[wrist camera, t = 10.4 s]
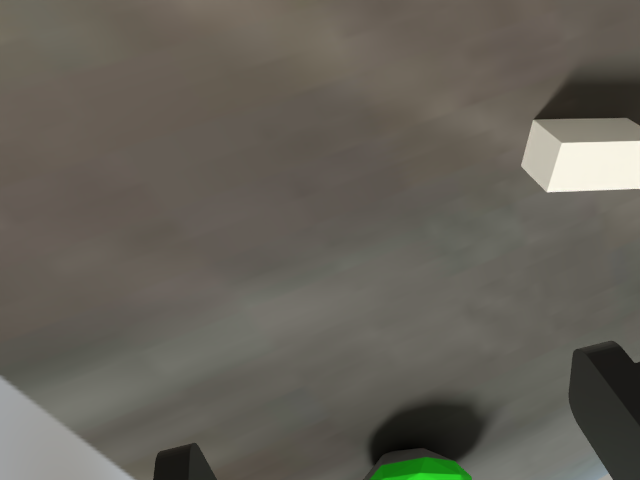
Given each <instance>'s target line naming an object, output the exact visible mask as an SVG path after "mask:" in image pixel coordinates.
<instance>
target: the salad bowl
mask: <svg viewBox="0 0 640 480" xmlns="http://www.w3.org/2000/svg"><path fill="white" fill-rule="evenodd" d="M363 480H472V478H471V476H470V475H469V474H468V473H467V472H466V471H465V470H464V469H463V468H461V467H460V466H459V465H458V464H457V463H456V462H455V461H453V460H451V459H448V458H446V457H444V456H441V455H439V454H436V453H434V452H431V451H429V450H427V449H424V448H418V449H409V450H400V451H392V452H389V453H386V454H383V456H382V457H381V458H380V459H379V461H378V462H377V463H376V464H375V466H374V467H373V468H372V469H371V471H370V472H369V473H368V474H367V476H366V477H365V478H364V479H363Z"/></svg>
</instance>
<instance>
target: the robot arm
mask: <svg viewBox="0 0 640 480" xmlns="http://www.w3.org/2000/svg"><path fill="white" fill-rule="evenodd" d="M569 403H570V407H571V410H572V413H573V415H574V418H575V420H576V422H577V424H578V425H579V427H580V428H581V430H582V432H583V433H584V435H585V436H586V438H587V439H588V441H589V443H590V444H591V446H592V447H593V449H594V450H595V452H596V454H597V455H598V457H599V458H600V460H601V461H602V463H603V465H604V466H605V468H606V469H607V471H608V472H609V474H610V476H611V477H612V479H613V480H640V362H638V363H634V362H633V361H632V359H631V358H630V357H629V356H628V355H627V353H626V352H625V351H624V350H623V349H622V348H621V346H620V345H618V344H617V343H616V342H614V341H608V342H604V343H600V344H596V345H592V346H588V347H584V348H579V349H576V350H575V351H574V352H573V358H572V367H571V376H570V386H569ZM153 480H217V479H216V477H215V475H214V474H213V472H212V470H211V468H210V466H209V464H208V463H207V461H206V459H205V457H204V455H203V453H202V452H201V450H200V448H199V446H198V445H197V444H196V443H192V444H188V445H184V446H180V447H176V448H172V449H168V450H164V451H160V452H159V453H158V455H157V457H156V462H155V470H154V478H153Z"/></svg>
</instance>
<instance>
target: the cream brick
mask: <svg viewBox="0 0 640 480" xmlns="http://www.w3.org/2000/svg"><path fill="white" fill-rule="evenodd" d="M521 167H522V168H523V169H524V170H525V171H526V172H527V173H528V174H529V175H530V176H531V177H532V178H533V179H534V180H535V181H536V182H537V183H538V184H539V185H540V186H541V187H542V188H543V189H544V190H545V191H546V192H565V191H591V190H617V189H640V126H639V125H638V124H636V123H635V122H633V121H631V120H630V119H628V118H594V119H541V120H533V123H532V127H531V130H530V134H529V138H528V142H527V146H526V149H525V153H524V157H523V161H522V164H521Z"/></svg>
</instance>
